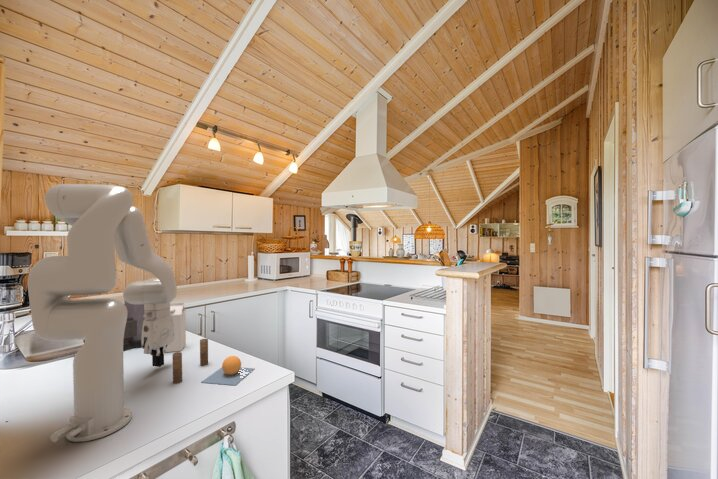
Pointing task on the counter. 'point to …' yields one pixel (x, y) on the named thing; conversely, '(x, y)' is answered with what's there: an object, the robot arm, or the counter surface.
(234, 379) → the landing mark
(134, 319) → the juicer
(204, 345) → the outer post
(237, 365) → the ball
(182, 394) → the counter surface
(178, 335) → the milk carton
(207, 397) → the counter surface
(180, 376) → the inner post
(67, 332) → the robot arm
